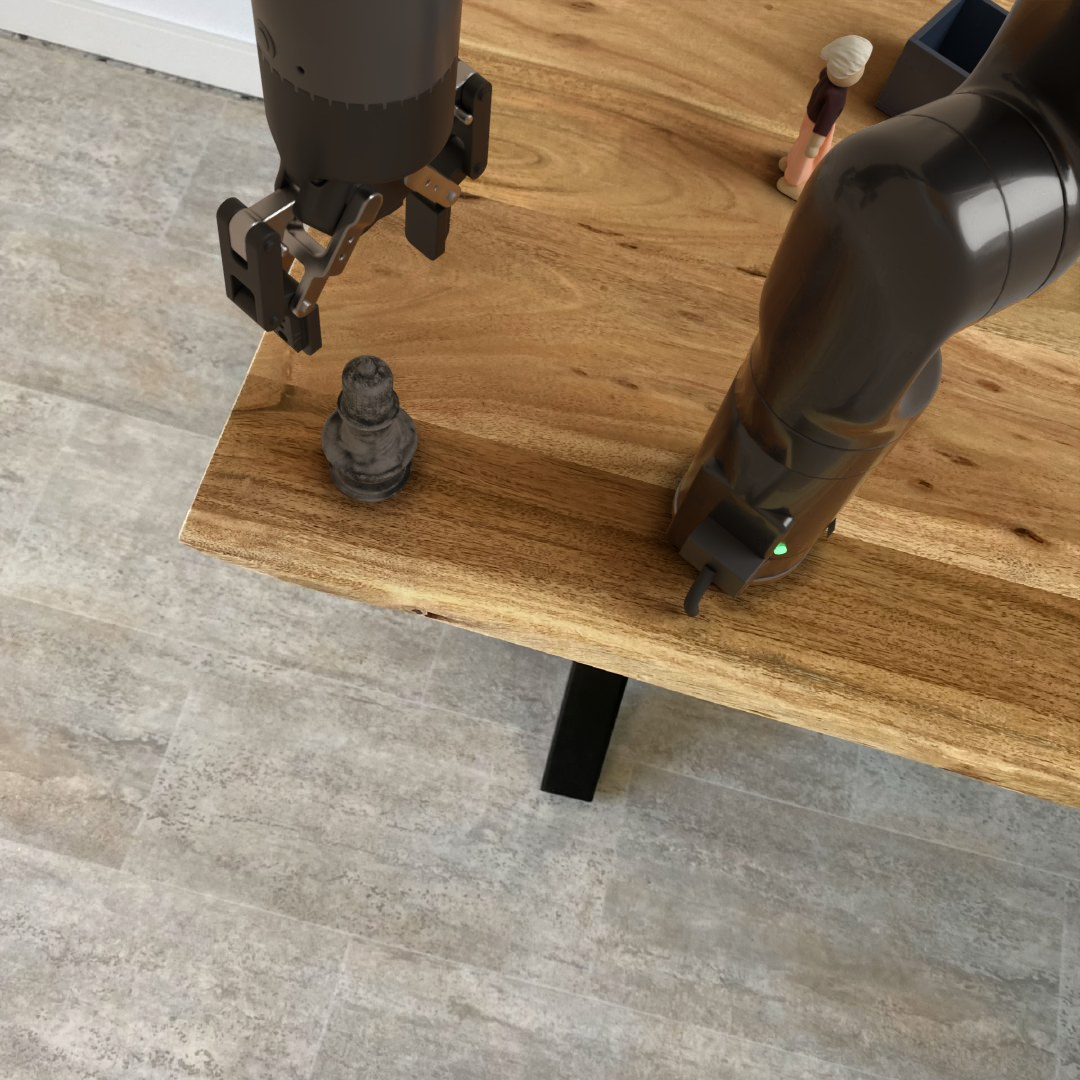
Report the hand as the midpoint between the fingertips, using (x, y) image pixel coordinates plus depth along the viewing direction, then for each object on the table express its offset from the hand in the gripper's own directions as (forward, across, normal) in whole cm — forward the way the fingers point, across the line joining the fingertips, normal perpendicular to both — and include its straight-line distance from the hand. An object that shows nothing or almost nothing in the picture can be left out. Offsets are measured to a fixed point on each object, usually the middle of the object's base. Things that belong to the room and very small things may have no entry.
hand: (365, 293), depth 54 cm
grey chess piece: (+17, 0, -1) cm, 17 cm away
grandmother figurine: (+18, +42, -5) cm, 45 cm away
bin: (+17, +58, -10) cm, 61 cm away
